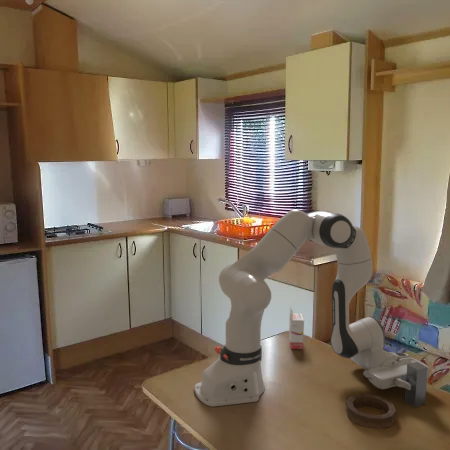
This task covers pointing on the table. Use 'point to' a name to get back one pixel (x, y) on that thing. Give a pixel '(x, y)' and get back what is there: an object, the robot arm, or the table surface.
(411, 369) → the metal peg
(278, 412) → the table surface
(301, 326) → the ink cartridge box
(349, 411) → the walnut ring
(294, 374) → the table surface
